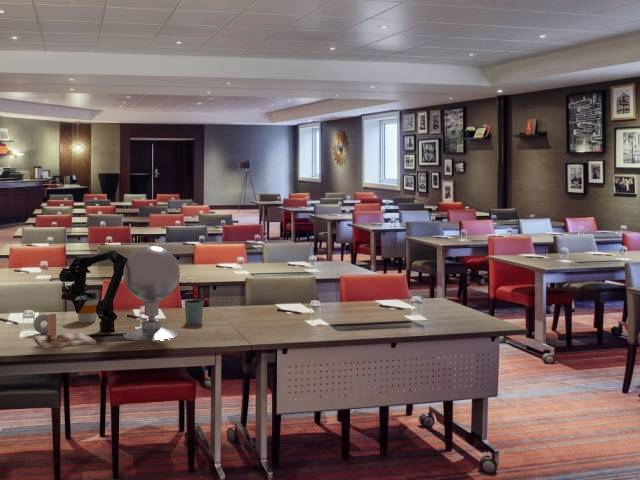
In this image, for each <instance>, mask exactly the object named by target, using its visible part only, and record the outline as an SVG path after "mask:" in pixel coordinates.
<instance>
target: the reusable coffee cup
mask: <svg viewBox="0 0 640 480" xmlns="http://www.w3.org/2000/svg"><path fill="white" fill-rule="evenodd" d="M92 292H93V293H95V294H96V298H94V299H91V298H89V297H85V298H86V299H87V300H88V301H86V303H85V304H84V306H83V307H82V309H81V311H80V312H79V313H78V314H77V318H78V319H77V320H78V322H79V323H83V324H85V323H86V322H90V323H94V322H93V321H95V322H96V321H97V317H98V315H97V313H96V308H95V307H96V306H97V303H98V301H99V300H100V293H99V292H97V291H92ZM86 324H87V323H86Z"/></svg>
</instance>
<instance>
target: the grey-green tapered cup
mask: <svg viewBox="0 0 640 480" xmlns="http://www.w3.org/2000/svg"><path fill="white" fill-rule="evenodd" d="M184 309H185V311H184V312H185V323H186V324H187V323H188V324H187V325H201V324H203V312H204V300H202V299H188V300H187V299H186V300H184Z"/></svg>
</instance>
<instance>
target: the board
mask: <svg viewBox="0 0 640 480" xmlns="http://www.w3.org/2000/svg"><path fill="white" fill-rule="evenodd" d="M56 335H57V338H58V339H61V338H63V336H64V337H68V338H69V340H64V341H59V342H58V341H55V340H52V339H51V335H48V334H47V338H46V335H38V336H37V335H35V336H34V337H33V339H34V340H35V342H37V343H38V344H39V345H40V346H41V347H42V348H44V349H50V348H51V349H53V348H63V347H73V346H83V345H84V346H85V345H95V344H97V340H96V339H94V338H93V337H92V336H90V335H88V334H87V333H85V332H74V333H73V332H72V333H61V334H59V333H58V334H56ZM52 347H53V348H52Z"/></svg>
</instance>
